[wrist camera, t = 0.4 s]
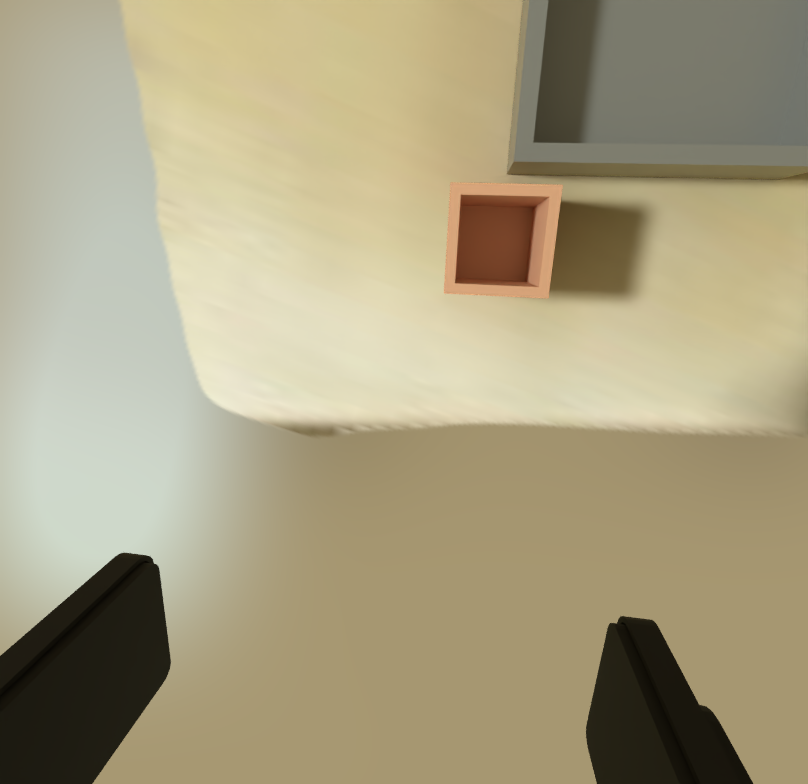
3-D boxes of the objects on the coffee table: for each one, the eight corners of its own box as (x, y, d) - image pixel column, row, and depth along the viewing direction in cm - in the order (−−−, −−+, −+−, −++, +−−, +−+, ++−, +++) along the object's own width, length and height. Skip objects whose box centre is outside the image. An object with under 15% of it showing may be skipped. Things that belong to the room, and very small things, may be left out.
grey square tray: (537, -155, 26) (551, -235, 22) (867, -173, 24) (954, -265, 20) (506, 174, 31) (513, 161, 27) (778, 179, 29) (832, 166, 25)
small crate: (453, 197, 32) (450, 182, 25) (541, 199, 31) (562, 184, 25) (447, 285, 34) (443, 293, 27) (531, 289, 33) (548, 298, 26)
